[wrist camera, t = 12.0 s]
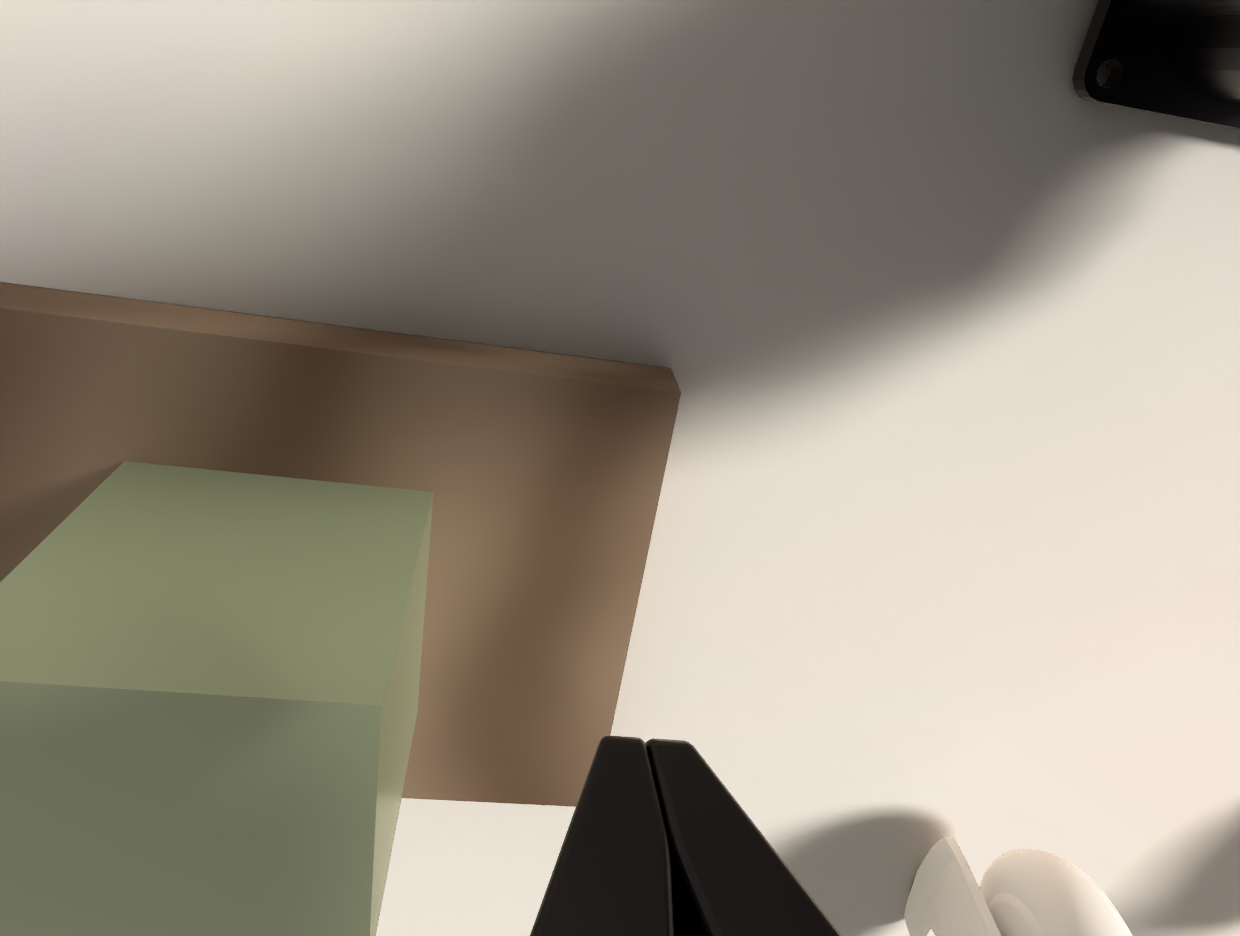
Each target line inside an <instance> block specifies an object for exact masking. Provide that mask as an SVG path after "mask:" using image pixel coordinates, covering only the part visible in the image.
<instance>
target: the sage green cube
mask: <svg viewBox="0 0 1240 936" xmlns="http://www.w3.org/2000/svg"><path fill="white" fill-rule="evenodd" d="M432 505H433V492H427V491H417V490H407V489H397V488H387V487H377V486H368V485H358V484H348V483H338V482H328V481H318V480H308V479H298V478H288V477H278V476H268V475H258V474H248V473H238V472H228V471H218V470H208V469H198V468H188V467H178V466H168V465H159V464H149V463H139V462H129V461H124V462H123V463H122V464H121V465H120V466H119V467H118V468H117V469H116V470H115V471H114V472H113V473H112V474H111V475H110V476H109V477H108V478H107V479H106V480H105V481H104V482H103V483H102V484H101V485H99V486H98V487H97V488H96V489H95V490H94V491H93V492H92V493H91V494H90V495H89V496H88V497H87V498H86V499H85V500H84V501H83V502H82V503H81V504H80V505H79V506H78V507H77V508H76V509H75V510H74V511H73V512H72V513H71V514H70V515H69V516H68V517H67V518H66V519H65V520H64V521H63V522H62V523H61V524H60V525H59V526H58V527H57V528H56V529H54V530H53V531H52V532H51V533H50V534H49V535H48V536H47V537H46V538H45V539H44V540H43V541H42V542H41V543H40V544H39V545H38V546H37V547H36V548H35V549H34V550H33V551H32V552H31V553H30V554H29V555H28V556H27V557H26V558H25V559H24V560H23V561H22V562H21V563H20V564H19V565H18V566H17V567H16V568H15V569H14V570H13V571H12V572H10V573H9V574H8V575H7V576H6V577H5V578H4V579H3V580H2V581H1V582H0V936H376V931H377V926H378V920H379V915H380V910H381V904H382V899H383V894H384V888H385V883H386V878H387V872H388V867H389V862H390V856H391V851H392V846H393V840H394V835H395V830H396V824H397V819H398V814H399V808H400V803H401V797H402V792H403V787H404V781H405V776H406V771H407V765H408V760H409V755H410V749H411V744H412V739H413V733H414V728H415V723H416V717H417V709H418V696H419V682H420V669H421V655H422V641H423V628H424V614H425V601H426V587H427V573H428V560H429V546H430V533H431V519H432Z"/></svg>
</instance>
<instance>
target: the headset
mask: <svg viewBox="0 0 1240 936" xmlns="http://www.w3.org/2000/svg"><path fill="white" fill-rule="evenodd" d="M904 918H905V922H906V925H907V928H908V931H909V934H910V936H926V935H927V934H928V932H929V931H930V929H932V931H933V932H934V934H935V935H936V936H1133V935H1132V934H1131V932H1130V930H1129V929H1128V927H1127V925H1126V924H1125V922H1124V920H1123V919H1122V917H1121V916H1120V914H1119V913H1118V911H1117V910H1116V908H1115V907H1114V905H1113V904H1112V903H1111V901H1110V900H1109V899H1108V897H1107V896H1106V895H1105V894H1104V892H1103V891H1102V890H1101V889H1100V888H1099V887H1098V886H1097V884H1096V883H1095V882H1094V881H1093V880H1092V879H1091V878H1090V877H1088V876H1087V875H1086V874H1085V873H1084V872H1082V871H1081V870H1080V869H1079V868H1077V867H1076V866H1075V865H1073V864H1072V863H1070V862H1069V861H1067V860H1065V859H1063V858H1061V857H1059V856H1057V855H1054V854H1052V853H1048V852H1044V851H1041V850H1034V849H1018V850H1012V851H1010V852H1007V853H1005V854H1003V855H1001V856H1000V857H998V858H997V859H996V860H995V861H994V862H992V864H991V865H990V866H989V868H988V869H987V871H986V872H985V874H984V876H983V878H982V880H981V884H980V887H979V886H978V884H977V882H976V880H975V878H974V876H973V873H972V871H971V869H970V867H969V865H968V863H967V861H966V859H965V857H964V855H963V853H962V851H961V849H960V847H959V846H958V844H957V843H956V841H955V839H954V838H953V837H943V838H941V839H940V840H939V841H938V842H937V843H936V844H934V845H933V846H932V847H931V849H930V850H929V852H928V854H927V855H926V857H925V859H924V860H923V862H922V864H921V865H920V867H919V869H918V870H917V873H916V876H915V879H914V882H913V885H912V888H911V891H910V894H909V897H908V900H907V904H906V908H905V913H904Z"/></svg>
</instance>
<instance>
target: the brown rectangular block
mask: <svg viewBox="0 0 1240 936" xmlns="http://www.w3.org/2000/svg"><path fill="white" fill-rule="evenodd" d="M680 394H681V392H680V389H679V387H678V385H677V382H676V380H675V377H674V375H673V373H672V370H671V369H670V368H662V367H655V366H647V365H639V364H631V363H624V362H616V361H608V360H600V359H593V358H585V357H577V356H569V355H562V354H554V353H546V352H538V351H530V350H523V349H515V348H507V347H499V346H492V345H484V344H476V343H468V342H461V341H453V340H445V339H437V338H430V337H422V336H414V335H406V334H398V333H391V332H383V331H375V330H367V329H360V328H352V327H344V326H336V325H329V324H321V323H313V322H305V321H297V320H290V319H282V318H274V317H266V316H259V315H251V314H243V313H235V312H228V311H220V310H212V309H204V308H197V307H189V306H181V305H173V304H165V303H158V302H150V301H142V300H134V299H127V298H119V297H111V296H103V295H96V294H88V293H80V292H72V291H65V290H57V289H49V288H41V287H33V286H26V285H18V284H10V283H2V282H0V582H1V581H2V580H3V579H4V578H5V577H6V576H7V575H8V574H9V573H10V572H12V571H13V570H14V569H15V568H16V567H17V566H18V565H19V564H20V563H21V562H22V561H23V560H24V559H25V558H26V557H27V556H28V555H29V554H30V553H31V552H32V551H33V550H34V549H35V548H36V547H37V546H38V545H39V544H40V543H41V542H42V541H43V540H44V539H45V538H46V537H47V536H48V535H49V534H50V533H51V532H52V531H53V530H54V529H56V528H57V527H58V526H59V525H60V524H61V523H62V522H63V521H64V520H65V519H66V518H67V517H68V516H69V515H70V514H71V513H72V512H73V511H74V510H75V509H76V508H77V507H78V506H79V505H80V504H81V503H82V502H83V501H84V500H85V499H86V498H87V497H88V496H89V495H90V494H91V493H92V492H93V491H94V490H95V489H96V488H97V487H98V486H99V485H101V484H102V483H103V482H104V481H105V480H106V479H107V478H108V477H109V476H110V475H111V474H112V473H113V472H114V471H115V470H116V469H117V468H118V467H119V466H120V465H121V464H122V463H123V462H124V461H129V462H139V463H149V464H159V465H168V466H178V467H188V468H198V469H208V470H218V471H228V472H238V473H248V474H258V475H268V476H278V477H288V478H298V479H308V480H318V481H328V482H338V483H348V484H358V485H368V486H377V487H387V488H397V489H407V490H417V491H427V492H433V505H432V519H431V533H430V546H429V560H428V573H427V587H426V601H425V614H424V628H423V641H422V655H421V669H420V682H419V696H418V709H417V717H416V723H415V728H414V733H413V739H412V744H411V749H410V755H409V760H408V765H407V771H406V776H405V781H404V787H403V792H402V797H401V798H415V799H435V800H455V801H475V802H495V803H515V804H536V805H556V806H577V803H578V800H579V798H580V795H581V792H582V789H583V786H584V784H585V781H586V778H587V775H588V772H589V770H590V767H591V764H592V761H593V759H594V756H595V753H596V750H597V747H598V745H599V742H600V740H601V739H602V738H603V737H605V736H610V733H611V729H612V724H613V719H614V714H615V709H616V704H617V700H618V695H619V690H620V685H621V680H622V675H623V670H624V666H625V661H626V656H627V651H628V646H629V641H630V637H631V632H632V627H633V622H634V617H635V612H636V607H637V603H638V598H639V593H640V588H641V583H642V578H643V574H644V569H645V564H646V559H647V554H648V549H649V544H650V540H651V535H652V530H653V525H654V520H655V515H656V511H657V506H658V501H659V496H660V491H661V486H662V482H663V477H664V472H665V467H666V462H667V457H668V452H669V448H670V443H671V438H672V433H673V428H674V423H675V419H676V414H677V409H678V404H679V399H680Z"/></svg>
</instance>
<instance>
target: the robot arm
mask: <svg viewBox="0 0 1240 936" xmlns="http://www.w3.org/2000/svg"><path fill="white" fill-rule="evenodd" d="M1106 61H1107V62H1108V64H1109V66H1110V73H1109V77H1108V78H1107V80H1106V81H1105V83H1103V84H1102V85H1100V86H1099V84H1098V82H1097V79H1096V78H1097V71H1098V70H1099V68H1100V66H1101V65H1102V64H1103V63H1104V62H1106ZM1072 80H1073V86H1074V90H1075V91H1076V93H1077V94H1078V96H1079V97H1081V98H1083V99H1085V100H1087V101H1093V102H1098V103H1103V104H1108V105H1113V106H1119V107H1124V108H1129V109H1134V110H1140V111H1145V112H1150V113H1155V114H1161V115H1166V116H1171V117H1176V118H1182V119H1187V120H1192V121H1197V122H1203V123H1208V124H1213V125H1218V126H1224V127H1229V128H1234V129H1239V130H1240V0H1099V2H1098V4H1097V7H1096V10H1095V13H1094V16H1093V18H1092V21H1091V24H1090V27H1089V30H1088V32H1087V35H1086V38H1085V41H1084V44H1083V46H1082V49H1081V52H1080V55H1079V58H1078V60H1077V63H1076V66H1075V69H1074V74H1073V79H1072ZM530 936H841V935H840V933H839V932H838V931H837V930H836V928H835V927H834V926H833V924H832V923H831V922H830V921H829V919H828V918H827V917H826V916H825V914H824V913H823V912H822V910H821V909H820V908H819V907H818V905H817V904H816V903H815V901H814V900H813V899H812V898H811V896H810V895H809V894H808V892H807V891H806V890H805V889H804V887H803V886H802V885H801V883H800V882H799V881H798V880H797V878H796V877H795V876H794V874H793V873H792V872H791V871H790V869H789V868H788V867H787V865H786V864H785V863H784V862H783V860H782V859H781V858H780V856H779V855H778V854H777V853H776V851H775V850H774V849H773V848H772V846H771V845H770V844H769V842H768V841H767V840H766V839H765V837H764V836H763V835H762V833H761V832H760V831H759V830H758V828H757V827H756V826H755V824H754V823H753V822H752V821H751V819H750V818H749V817H748V815H747V814H746V813H745V812H744V810H743V809H742V808H741V806H740V805H739V804H738V803H737V801H736V800H735V799H734V797H733V796H732V795H731V794H730V792H729V791H728V790H727V788H726V787H725V786H724V785H723V783H722V782H721V781H720V780H719V778H718V777H717V776H716V774H715V773H714V772H713V771H712V769H711V768H710V767H709V765H708V764H707V763H706V762H705V760H704V759H703V758H702V756H701V755H700V754H699V753H698V751H697V750H696V749H695V748H694V746H693V745H691V744H690V743H689V742H686V741H681V740H666V739H651V740H649V741H647V742H646V744H645V742H644V741H643V740H642V739H640V738H635V737H620V736H605V737H603V738H602V739H601V740H600V742H599V745H598V747H597V750H596V753H595V756H594V759H593V761H592V764H591V767H590V770H589V772H588V775H587V778H586V781H585V784H584V786H583V789H582V792H581V795H580V798H579V800H578V803H577V806H576V809H575V812H574V814H573V817H572V820H571V823H570V826H569V828H568V831H567V834H566V837H565V839H564V842H563V845H562V848H561V851H560V853H559V856H558V859H557V862H556V865H555V867H554V870H553V873H552V876H551V879H550V881H549V884H548V887H547V890H546V892H545V895H544V898H543V901H542V904H541V906H540V909H539V912H538V915H537V918H536V920H535V923H534V926H533V929H532V932H531V934H530Z"/></svg>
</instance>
